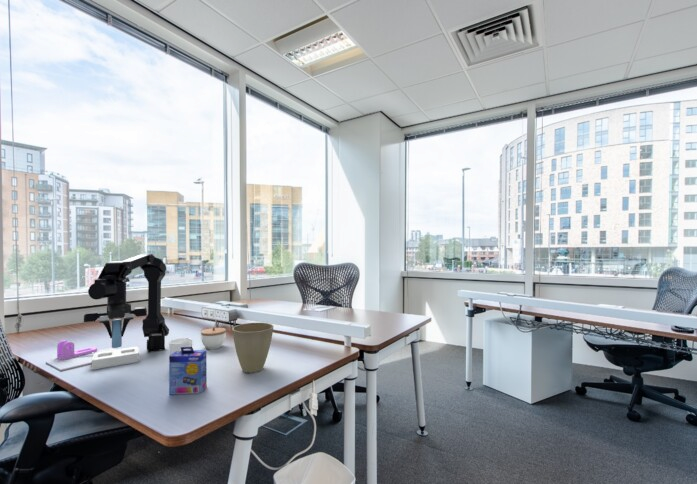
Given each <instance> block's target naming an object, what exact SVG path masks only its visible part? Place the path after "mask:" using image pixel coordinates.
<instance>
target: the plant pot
mask: <svg viewBox="0 0 697 484" xmlns="http://www.w3.org/2000/svg"><path fill="white" fill-rule="evenodd" d="M273 331H274V324H272V323H267V322H248V323H247V322H245V323H241V324H238V325H235V326H233V327H232V337H233V343H234V348H235V352H236V355H237V359H238V362H239V365H240V367H241V370H242V372H243V371H244V372H243V373H246V372H249V373H248V374H253V373H252V372H255V373H258V372H257V371H259V372H261V371H263V370H264V367H265V364H266V361H267V358H268V354H269V351H270V348H271V344H272V343H271V342H272V339H273ZM260 370H261V371H260Z"/></svg>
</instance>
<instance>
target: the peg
mask: <svg viewBox="0 0 697 484" xmlns="http://www.w3.org/2000/svg"><path fill="white" fill-rule="evenodd" d="M122 320H123V318H113V319H111V330H112V338H111V348H112V349H119V348H121V347H122V345H123V342H122V341H123V338H122V326H123V321H122Z"/></svg>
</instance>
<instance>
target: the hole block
mask: <svg viewBox="0 0 697 484" xmlns="http://www.w3.org/2000/svg"><path fill="white" fill-rule="evenodd" d="M139 347H140V346H139V345H138V346H132V347H131V346H130V347H124V348H116V349H111V350H105V351H96V352H94V353H93V356H92V359H91V371H92V370H99V369H104V368H110V367H116V366H121V365H128V364H134V363H138V362H140V348H139Z"/></svg>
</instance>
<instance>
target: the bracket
mask: <svg viewBox="0 0 697 484" xmlns="http://www.w3.org/2000/svg"><path fill="white" fill-rule="evenodd" d="M56 349H57V350H56V351H57V353H56V358H57V359H59V358H60V359H59V360H62V359H65V358H70V357H74V358H76V357H75V356H78V357H80V356H79V355H82V356H84V355H83V354H86V355H88V354H87V353H90V354H93V353H92V352H94V353H97V352H98V347H96V346H93V347H92V346H91V347H86V348H81V349H76V350H75V343H74V342H72V341H69V340H64V339H63V340H61V341H58V343H57V346H56ZM70 359H71V358H70ZM65 360H66V359H65Z"/></svg>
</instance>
